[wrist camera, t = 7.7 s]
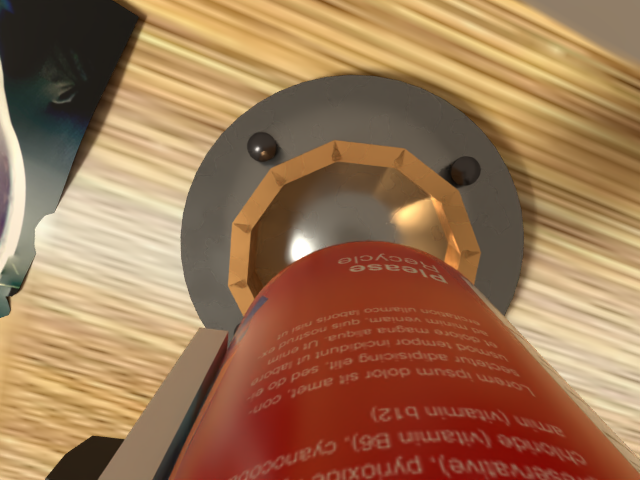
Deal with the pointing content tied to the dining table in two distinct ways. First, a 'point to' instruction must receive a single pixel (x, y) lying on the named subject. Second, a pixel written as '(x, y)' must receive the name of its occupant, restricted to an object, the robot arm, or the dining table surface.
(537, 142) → the dining table surface
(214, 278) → the bolted flange plate
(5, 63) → the colorful printed placemat
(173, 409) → the robot arm
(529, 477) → the soda can
